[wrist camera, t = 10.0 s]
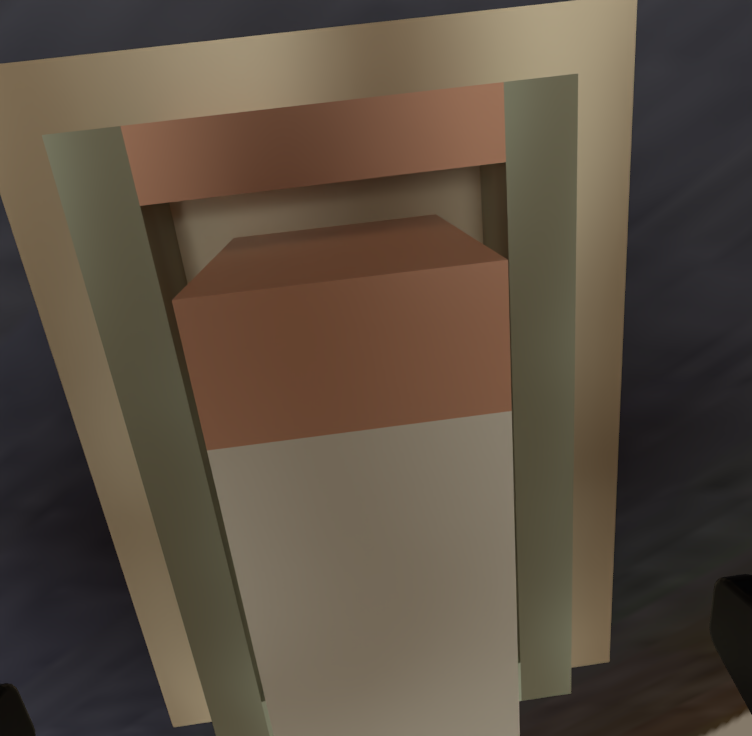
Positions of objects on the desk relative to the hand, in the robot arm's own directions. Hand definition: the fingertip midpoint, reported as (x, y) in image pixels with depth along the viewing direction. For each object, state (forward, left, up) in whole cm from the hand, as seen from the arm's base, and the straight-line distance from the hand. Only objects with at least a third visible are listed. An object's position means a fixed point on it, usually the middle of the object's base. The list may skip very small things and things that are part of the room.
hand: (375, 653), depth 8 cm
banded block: (0, 0, -6) cm, 6 cm away
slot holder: (0, 0, -7) cm, 7 cm away
